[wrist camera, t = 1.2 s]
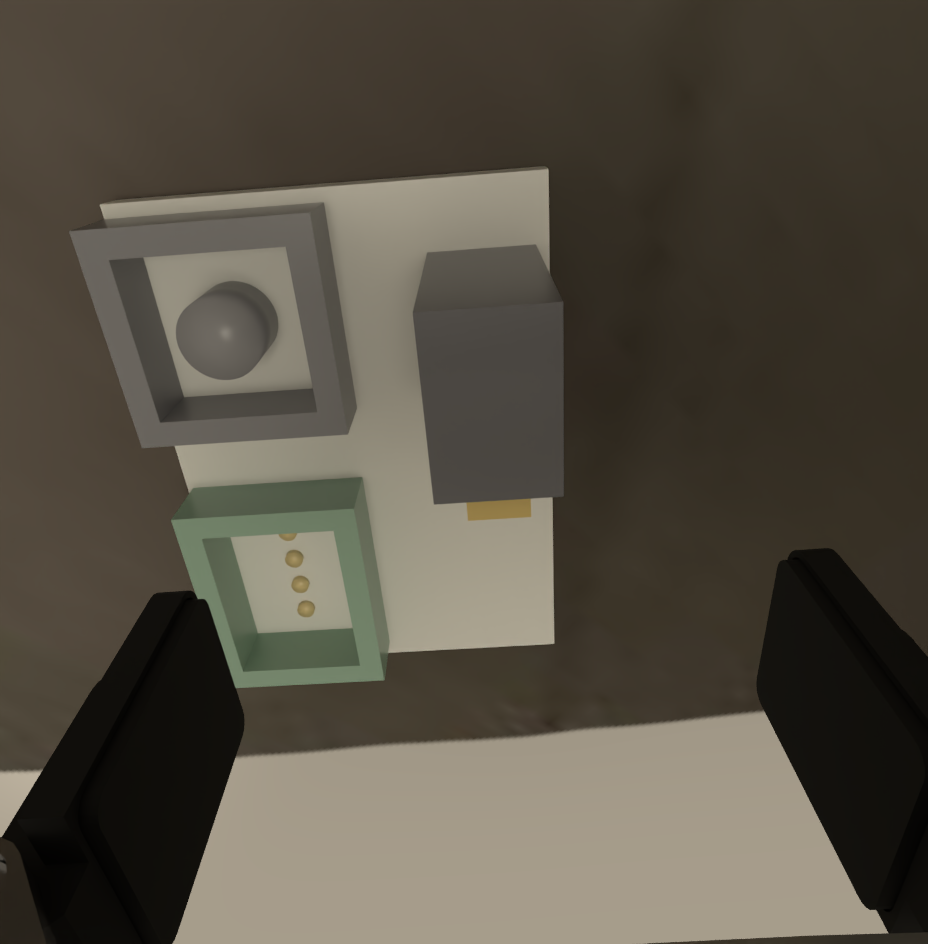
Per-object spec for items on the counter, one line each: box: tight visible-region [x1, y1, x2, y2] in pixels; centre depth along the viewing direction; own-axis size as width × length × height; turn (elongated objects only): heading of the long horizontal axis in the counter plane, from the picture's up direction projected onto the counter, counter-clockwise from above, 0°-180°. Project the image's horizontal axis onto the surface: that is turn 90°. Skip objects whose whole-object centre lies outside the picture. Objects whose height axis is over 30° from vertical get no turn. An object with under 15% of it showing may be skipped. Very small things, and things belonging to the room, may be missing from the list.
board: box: [69, 166, 554, 653], centre depth 29 cm, size 16×22×4 cm
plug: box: [413, 244, 564, 521], centre depth 23 cm, size 4×7×8 cm, turn 4°
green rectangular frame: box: [171, 477, 390, 688], centre depth 31 cm, size 8×10×3 cm
